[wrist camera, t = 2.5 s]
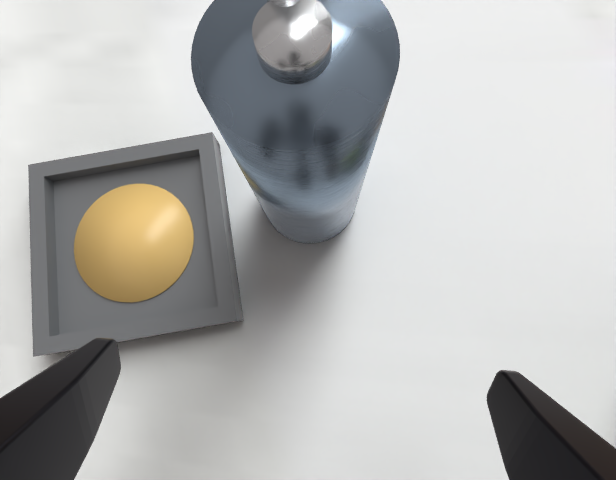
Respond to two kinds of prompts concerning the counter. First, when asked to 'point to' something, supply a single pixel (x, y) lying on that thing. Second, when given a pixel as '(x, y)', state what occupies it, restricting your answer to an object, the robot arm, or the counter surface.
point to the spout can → (299, 101)
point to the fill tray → (130, 244)
